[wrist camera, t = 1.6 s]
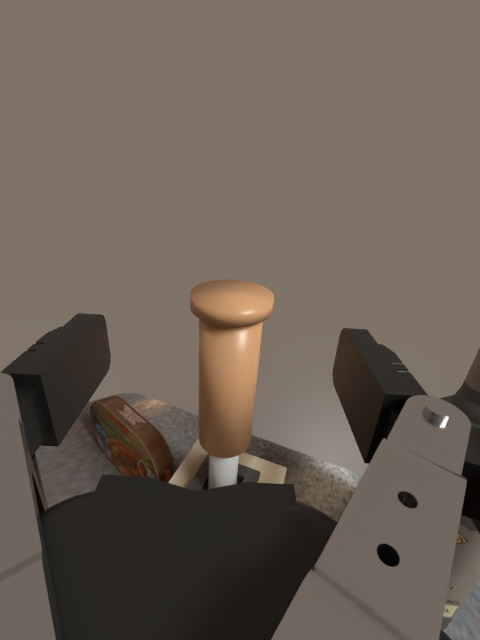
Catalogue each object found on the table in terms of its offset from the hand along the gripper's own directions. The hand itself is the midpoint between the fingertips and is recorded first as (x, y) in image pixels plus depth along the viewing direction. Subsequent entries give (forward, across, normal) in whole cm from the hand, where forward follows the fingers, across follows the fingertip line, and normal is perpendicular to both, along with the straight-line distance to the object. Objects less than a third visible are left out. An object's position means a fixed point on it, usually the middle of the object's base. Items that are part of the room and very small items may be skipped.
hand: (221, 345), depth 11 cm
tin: (+20, +12, +30) cm, 38 cm away
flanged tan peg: (+11, 0, +23) cm, 26 cm away
